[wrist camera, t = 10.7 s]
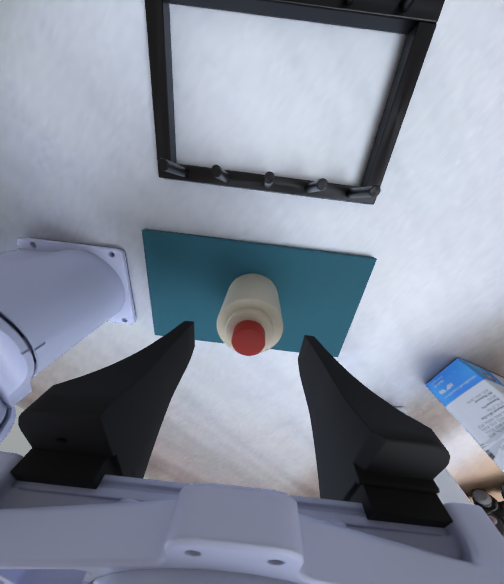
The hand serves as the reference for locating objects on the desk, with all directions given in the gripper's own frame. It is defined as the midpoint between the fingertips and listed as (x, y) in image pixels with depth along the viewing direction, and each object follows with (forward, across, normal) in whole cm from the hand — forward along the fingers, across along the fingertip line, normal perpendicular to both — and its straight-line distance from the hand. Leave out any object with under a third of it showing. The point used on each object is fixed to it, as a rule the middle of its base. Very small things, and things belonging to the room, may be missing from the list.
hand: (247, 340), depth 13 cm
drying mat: (+7, 0, 0) cm, 7 cm away
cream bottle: (+6, 0, 0) cm, 6 cm away
